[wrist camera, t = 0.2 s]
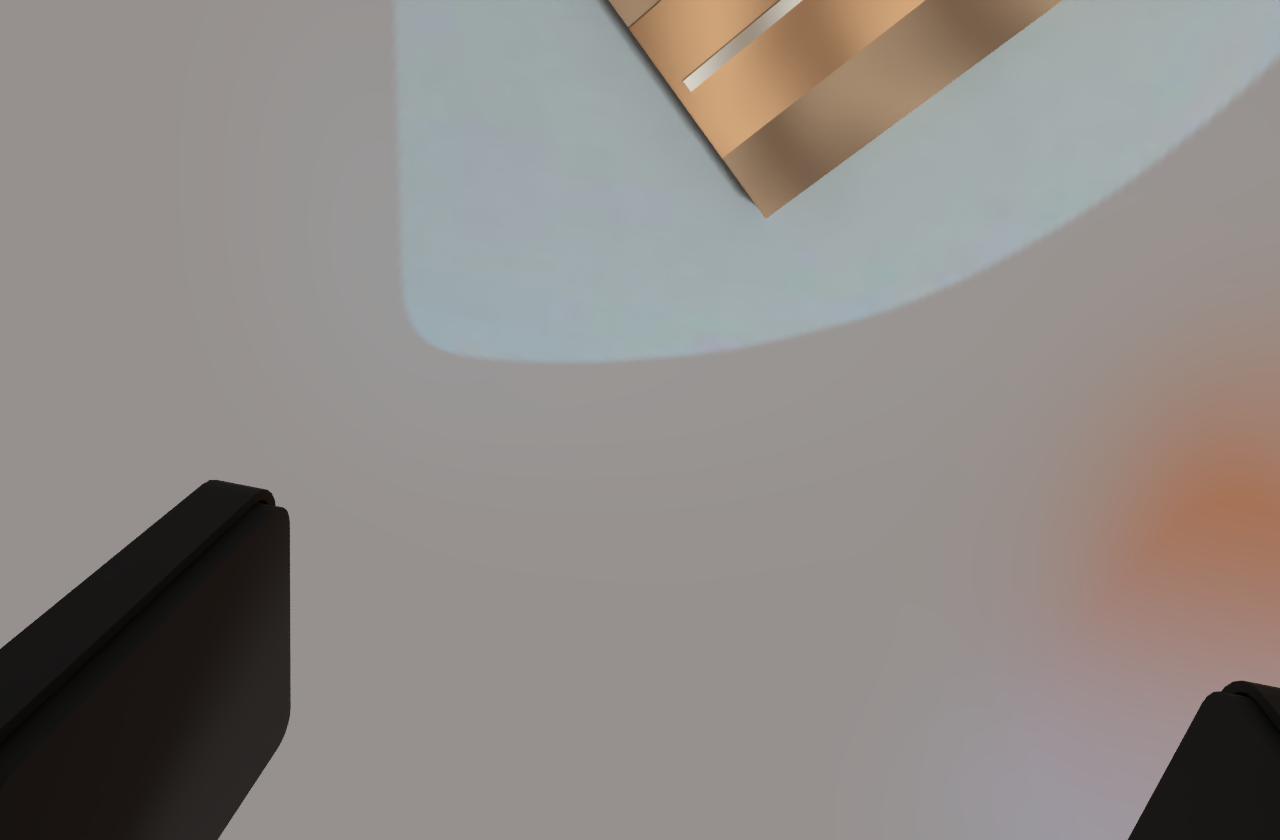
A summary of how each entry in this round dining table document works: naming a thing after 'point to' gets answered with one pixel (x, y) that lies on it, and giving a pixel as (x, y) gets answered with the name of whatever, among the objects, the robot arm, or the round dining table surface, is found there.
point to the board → (812, 72)
